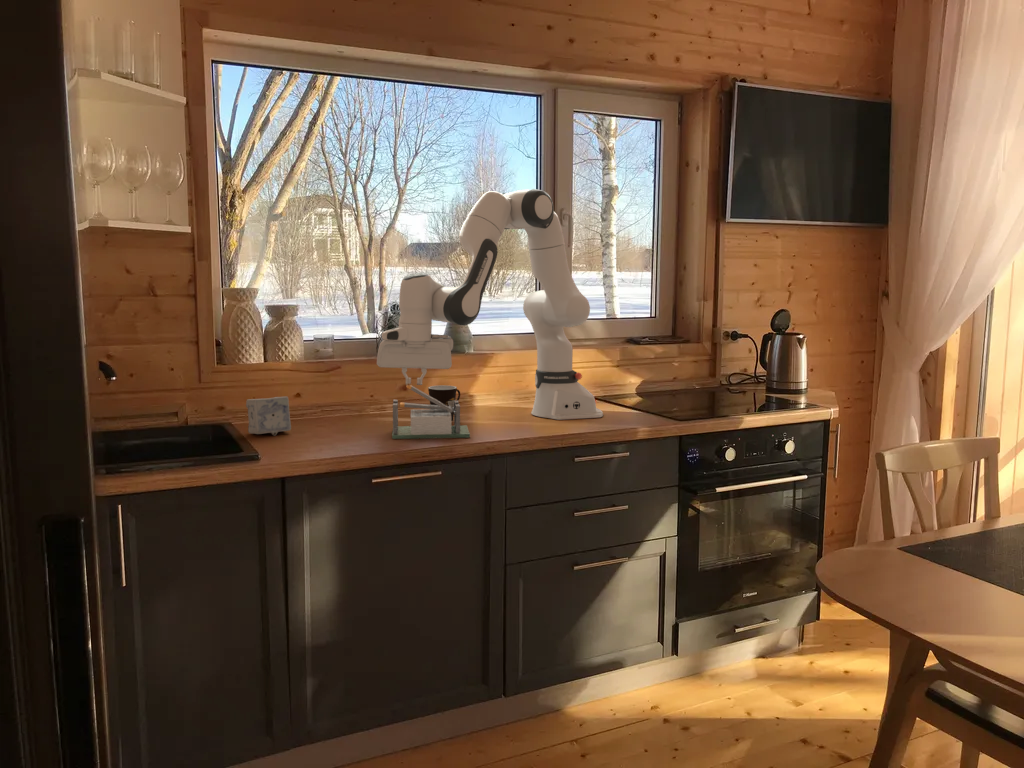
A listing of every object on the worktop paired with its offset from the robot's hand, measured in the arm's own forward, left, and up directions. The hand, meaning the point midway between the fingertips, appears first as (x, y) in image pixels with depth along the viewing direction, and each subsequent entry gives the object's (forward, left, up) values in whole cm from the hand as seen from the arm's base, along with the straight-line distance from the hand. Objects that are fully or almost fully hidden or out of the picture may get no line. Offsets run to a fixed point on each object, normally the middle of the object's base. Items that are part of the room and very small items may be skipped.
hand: (413, 384), depth 221 cm
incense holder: (+40, -7, -15) cm, 43 cm away
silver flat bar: (-3, -6, -8) cm, 10 cm away
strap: (-4, 0, -4) cm, 6 cm away
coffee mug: (-10, -23, -15) cm, 29 cm away
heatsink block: (-5, -3, -14) cm, 15 cm away
